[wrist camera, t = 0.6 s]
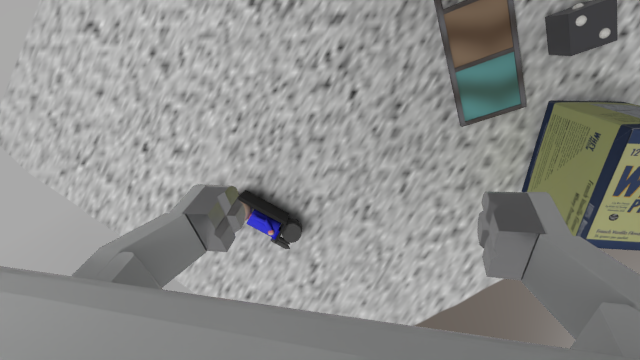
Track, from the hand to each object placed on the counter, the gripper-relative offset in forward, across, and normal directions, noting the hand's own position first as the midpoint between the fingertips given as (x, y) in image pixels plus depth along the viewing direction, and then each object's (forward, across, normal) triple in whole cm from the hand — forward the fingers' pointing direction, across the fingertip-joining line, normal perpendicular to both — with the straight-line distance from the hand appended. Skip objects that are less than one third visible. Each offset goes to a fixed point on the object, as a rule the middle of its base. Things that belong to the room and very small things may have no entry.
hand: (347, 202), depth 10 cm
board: (+42, -11, +5) cm, 44 cm away
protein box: (+41, -26, +24) cm, 54 cm away
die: (+44, -22, +6) cm, 50 cm away
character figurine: (+31, +24, +30) cm, 50 cm away
